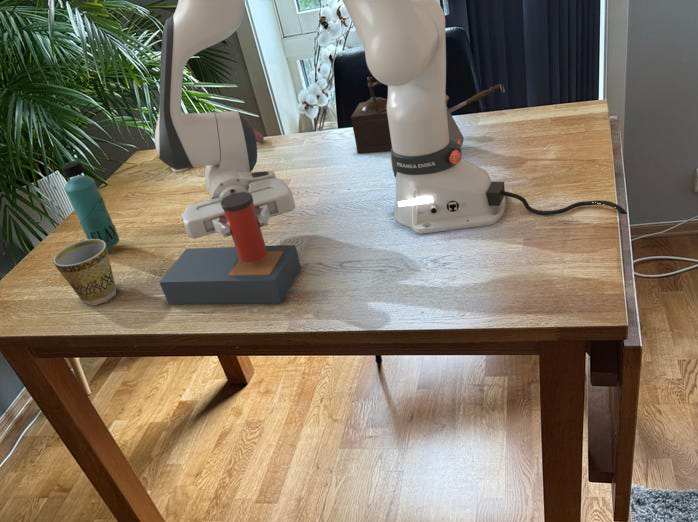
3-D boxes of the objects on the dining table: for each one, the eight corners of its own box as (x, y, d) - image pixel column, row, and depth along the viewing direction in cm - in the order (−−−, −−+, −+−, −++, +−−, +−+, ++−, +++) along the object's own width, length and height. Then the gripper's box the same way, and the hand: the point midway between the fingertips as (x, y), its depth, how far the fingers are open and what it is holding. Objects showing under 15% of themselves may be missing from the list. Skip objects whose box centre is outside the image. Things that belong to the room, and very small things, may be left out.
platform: (301, 267, 133) (295, 243, 130) (281, 303, 125) (274, 278, 121) (194, 270, 140) (185, 247, 137) (168, 304, 131) (158, 281, 128)
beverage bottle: (96, 260, 151) (56, 173, 138) (91, 249, 155) (51, 164, 143) (125, 249, 152) (88, 163, 140) (120, 239, 157) (83, 154, 145)
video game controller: (230, 151, 194) (218, 134, 188) (236, 138, 195) (223, 120, 189) (261, 151, 190) (249, 133, 184) (266, 138, 191) (255, 120, 185)
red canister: (272, 246, 127) (256, 191, 121) (261, 262, 123) (245, 206, 116) (244, 247, 129) (227, 192, 122) (233, 263, 125) (215, 207, 118)
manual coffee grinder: (400, 150, 170) (389, 75, 159) (356, 154, 173) (343, 80, 162) (409, 126, 182) (400, 54, 171) (368, 130, 185) (357, 59, 174)
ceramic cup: (125, 300, 135) (105, 255, 129) (74, 316, 133) (51, 271, 127) (124, 270, 145) (105, 227, 139) (76, 284, 143) (55, 241, 137)
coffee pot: (411, 165, 162) (403, 100, 153) (421, 145, 171) (413, 82, 162) (504, 160, 156) (501, 92, 147) (509, 139, 164) (507, 74, 155)
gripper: (174, 197, 129) (180, 227, 118) (281, 168, 132) (296, 195, 121) (185, 227, 133) (192, 259, 122) (288, 198, 136) (304, 227, 125)
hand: (245, 227), depth 122 cm, fingers closed on red canister, 5 cm apart
